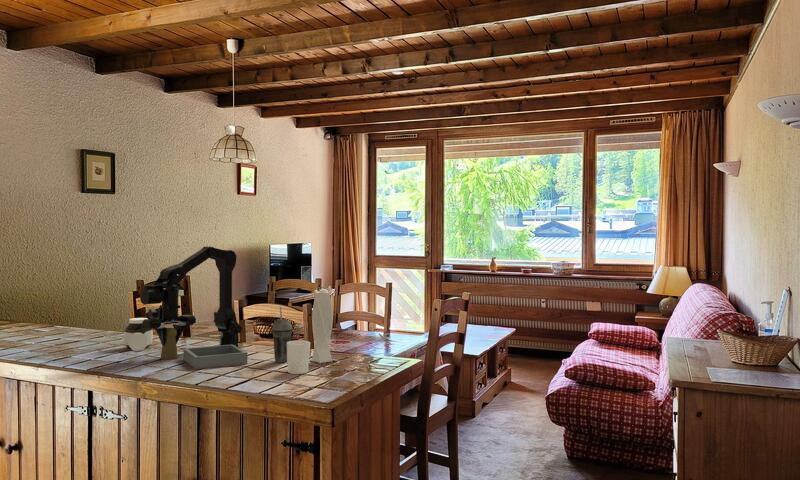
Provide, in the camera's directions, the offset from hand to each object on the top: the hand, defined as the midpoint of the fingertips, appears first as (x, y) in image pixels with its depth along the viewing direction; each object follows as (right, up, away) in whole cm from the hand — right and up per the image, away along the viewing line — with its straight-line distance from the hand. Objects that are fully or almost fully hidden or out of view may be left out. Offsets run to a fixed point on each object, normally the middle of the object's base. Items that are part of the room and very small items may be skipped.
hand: (169, 344), depth 213 cm
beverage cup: (+42, -6, -3) cm, 43 cm away
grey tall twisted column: (+57, -6, -2) cm, 57 cm away
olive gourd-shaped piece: (0, -5, 0) cm, 5 cm away
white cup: (+51, -6, -19) cm, 54 cm away
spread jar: (-19, -5, +17) cm, 25 cm away
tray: (+18, -5, -5) cm, 20 cm away
